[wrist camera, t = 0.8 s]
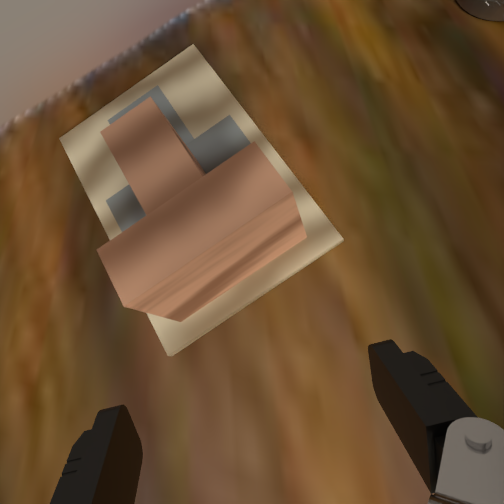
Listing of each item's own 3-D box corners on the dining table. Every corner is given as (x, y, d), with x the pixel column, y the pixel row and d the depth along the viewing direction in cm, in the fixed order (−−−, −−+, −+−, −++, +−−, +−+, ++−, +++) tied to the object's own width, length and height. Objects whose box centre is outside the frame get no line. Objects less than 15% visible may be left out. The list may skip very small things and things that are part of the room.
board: (343, 241, 36) (343, 238, 36) (171, 356, 37) (167, 355, 36) (195, 49, 47) (193, 43, 46) (63, 142, 48) (58, 138, 47)
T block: (307, 237, 37) (292, 191, 27) (180, 322, 37) (123, 306, 28) (231, 132, 42) (196, 64, 32) (120, 209, 42) (54, 163, 33)
